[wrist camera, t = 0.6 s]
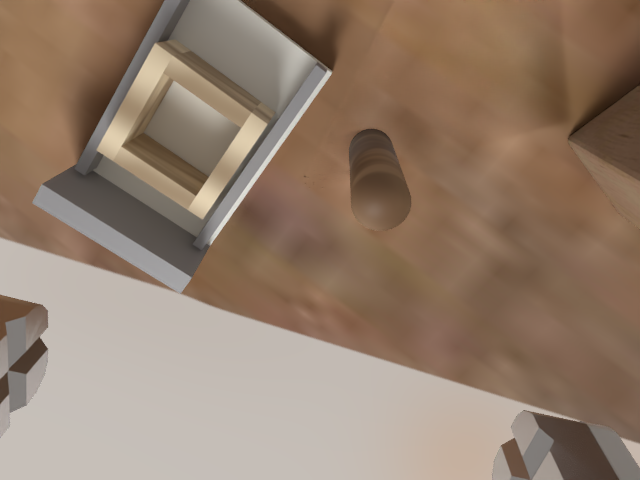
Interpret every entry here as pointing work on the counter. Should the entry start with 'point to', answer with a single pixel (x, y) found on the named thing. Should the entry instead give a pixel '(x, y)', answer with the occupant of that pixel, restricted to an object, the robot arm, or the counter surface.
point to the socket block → (157, 161)
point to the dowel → (377, 182)
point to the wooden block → (614, 153)
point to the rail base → (187, 139)
